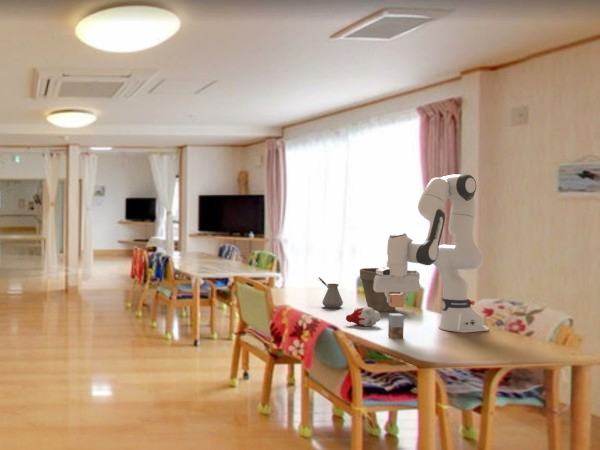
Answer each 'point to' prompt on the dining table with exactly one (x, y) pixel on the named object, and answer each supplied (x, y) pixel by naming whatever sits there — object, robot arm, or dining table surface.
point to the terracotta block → (396, 300)
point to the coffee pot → (332, 296)
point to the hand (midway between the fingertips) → (396, 302)
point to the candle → (364, 316)
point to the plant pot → (374, 298)
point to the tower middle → (396, 320)
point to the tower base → (395, 332)
